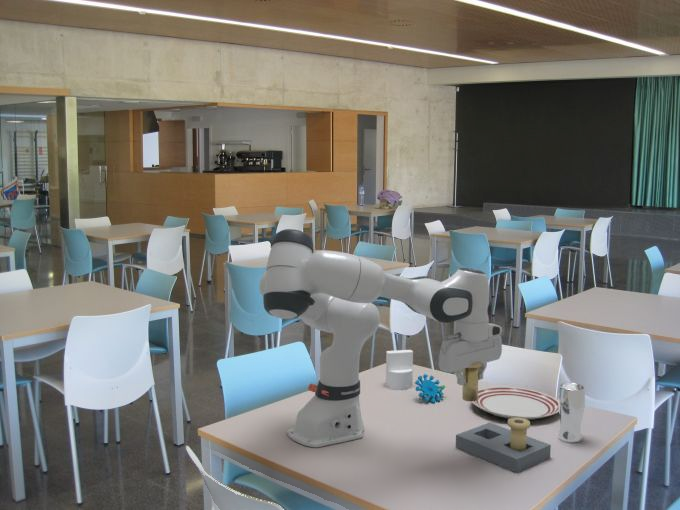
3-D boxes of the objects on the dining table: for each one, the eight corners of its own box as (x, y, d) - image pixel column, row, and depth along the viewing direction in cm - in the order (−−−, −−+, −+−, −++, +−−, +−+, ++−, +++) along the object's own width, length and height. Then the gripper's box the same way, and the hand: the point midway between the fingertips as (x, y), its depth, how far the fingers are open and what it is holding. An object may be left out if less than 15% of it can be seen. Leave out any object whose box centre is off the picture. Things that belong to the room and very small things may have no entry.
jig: (550, 457, 184) (551, 420, 182) (516, 472, 175) (518, 434, 174) (489, 434, 199) (490, 400, 198) (455, 447, 190) (456, 411, 189)
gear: (421, 401, 221) (413, 372, 227) (413, 409, 226) (405, 381, 231) (451, 401, 226) (442, 373, 232) (442, 409, 230) (433, 382, 236)
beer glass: (552, 434, 199) (555, 382, 197) (576, 433, 200) (579, 382, 198) (562, 444, 192) (564, 390, 190) (587, 443, 193) (589, 390, 191)
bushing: (470, 404, 181) (471, 366, 180) (454, 398, 186) (455, 361, 184) (485, 399, 185) (486, 362, 183) (469, 393, 189) (469, 357, 188)
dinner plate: (532, 392, 235) (533, 382, 235) (579, 421, 209) (579, 411, 209) (455, 398, 229) (456, 388, 229) (493, 430, 203) (494, 419, 202)
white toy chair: (390, 390, 236) (390, 355, 235) (383, 382, 245) (383, 348, 243) (415, 389, 238) (416, 354, 236) (407, 380, 247) (408, 347, 245)
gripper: (451, 339, 174) (450, 393, 176) (506, 326, 186) (505, 377, 188) (433, 334, 179) (432, 386, 181) (488, 322, 191) (487, 371, 193)
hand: (470, 381), depth 185 cm, fingers closed on bushing, 5 cm apart
